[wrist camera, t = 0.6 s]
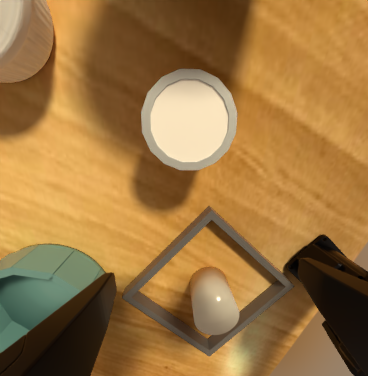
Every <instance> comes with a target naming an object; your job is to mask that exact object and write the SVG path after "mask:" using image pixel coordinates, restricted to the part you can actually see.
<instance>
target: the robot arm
mask: <svg viewBox="0 0 368 376" xmlns="http://www.w3.org/2000/svg"><path fill="white" fill-rule="evenodd" d="M286 268H287V269H288V270H289V271H290V272H291V273H292V274H293V275H294V276H295V277H296V278H298V279H299V280H300V281H301V282H302V284H303V285H304V287H305V288H306V290H307V292H308V293H309V295H310V297H311V298H312V300H313V302H314V303H315V305H316V307H317V308H318V310H319V311H320V313H321V314H322V315H323V317H324V318H325V320H326V321H324V322H323V323H322V326H323V327H324V329H325V330H326V332H327V334H328V336H329V338H330V339H331V341H332V342H333V344H334V345H335V347H336V349H337V351H338V352H339V354H340V355H341V357H342V359H343V360H344V362H345V364H346V365H347V367H348V369H349V370H350V372H351V373H352V374H353V375H354V376H368V271H366V270H364V269H363V268H362V267H360V266H359V265H357V264H355V263H354V262H353V261H351V260H349V259H348V258H347V257H346V256H345V255H344V254H343V253H342V252H341V251H340V250H339V249H338V247H337V246H336V245H335V244H334V243H333V242H332V241H331V240H330V239H329V238H328V237H327V236H326V235H321V236H319V237H318V238H317V239H316V240H315V241H313V242H312V243H311V244H310V245H309V246H308V247H306V248H305V249H304V250H303V251H302V252H300V253H299V254H298V255H297V256H296V257H295V258H293V259H292V260H291V261H290V262H289V263H288V264H287V265H286ZM115 295H116V282H115V276H114V273H104V274H103V275H101V276H100V277H99V278H97V279H96V280H95V281H94V282H92V283H91V284H90V285H88V286H87V287H86V288H84V289H83V290H82V291H81V292H79V293H78V294H77V295H75V296H74V297H73V298H71V299H70V300H69V301H68V302H66V303H65V304H64V305H62V306H61V307H60V308H59V309H57V310H56V311H55V312H53V313H52V314H51V315H49V316H48V317H47V318H46V319H44V320H43V321H42V322H40V323H39V324H38V325H36V326H35V327H34V328H33V329H31V330H30V331H29V332H27V334H25V335H23V336H22V337H21V338H20V339H18V340H17V341H16V342H14V343H13V344H12V345H10V346H9V347H8V348H6V349H5V350H4V351H2V352H1V353H0V376H90V375H91V372H92V369H93V367H94V364H95V361H96V358H97V355H98V353H99V350H100V347H101V344H102V341H103V338H104V336H105V333H106V330H107V326H108V323H109V319H110V315H111V311H112V307H113V303H114V299H115Z"/></svg>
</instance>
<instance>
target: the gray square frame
mask: <svg viewBox="0 0 368 376" xmlns="http://www.w3.org/2000/svg"><path fill="white" fill-rule="evenodd" d="M211 220H213V221H214V222H215V223H216V224H217V225H218V226H219V227H220V228H221V229H222V230H224V231H225V232H226V233H227V234H228V235H229V236H230V237H231V238H232V239H234V240H235V241H236V242H237V243H238V244H239V245H240V246H241V247H242V248H244V249H245V250H246V251H247V252H248V253H249V254H250V255H251V256H252V257H253V258H255V259H256V260H257V261H258V262H259V263H260V264H261V265H262V266H263V267H265V268H266V269H267V270H268V271H269V272H270V273H271V274H272V275H273V276H275V277H276V278H277V279H278V280H277V281H276V282H275V283H274V284H272V285H271V286H270V287H269V288H268V289H266V290H265V291H264V292H263V293H262V294H261V295H259V296H258V297H257V298H256V299H255V300H253V301H252V302H251V303H250V304H249V305H247V306H246V307H245V308H244V309H243V310H242V311H240V312H239V320H238V322H237V324H236V325H235V326H234V327H233V328H232V329H231V330H230V331H228V332H226V333H223V334H220V335H212V336H211V337H210V338H208V339H206V338H205V337H203V336H202V335H201V334H199V333H198V332H196V331H195V330H193V329H192V328H191V327H189V326H188V325H186V324H185V323H183V322H182V321H180V320H179V319H178V318H176V317H175V316H173V315H172V314H170V313H169V312H168V311H166V310H165V309H163V308H162V307H160V306H159V305H157V304H156V303H155V302H153V301H152V300H150V299H149V298H147V297H146V296H145V295H143V294H142V293H140V292H139V291H138V290H139V289H140V288H141V287H142V286H144V285H145V284H146V283H147V282H148V281H149V280H150V279H151V278H152V277H153V276H154V275H155V274H156V273H157V272H158V271H159V270H160V269H161V268H162V267H163V266H164V265H165V264H166V263H167V262H168V261H169V260H170V259H171V258H172V257H174V256H175V255H176V254H177V253H178V252H179V251H180V250H181V249H182V248H183V247H184V246H185V245H186V244H187V243H188V242H189V241H190V240H191V239H192V238H193V237H194V236H195V235H196V234H197V233H198V232H199V231H200V230H201V229H202V228H204V227H205V226H206V225H207V224H208V223H209V222H210V221H211ZM293 287H294V285H293V284H292V283H291V282H290V280H289V279H288V278H287V277H286V276H285V275H284V274H283V273H281V272H280V271H279V270H278V269H277V268H276V267H275V266H274V265H273V264H272V263H271V262H270V261H268V260H267V259H266V258H265V257H264V256H263V255H262V254H261V253H260V252H259V251H258V250H257V249H255V248H254V247H253V246H252V245H251V244H250V243H249V242H248V241H247V240H246V239H245V238H244V237H242V236H241V235H240V234H239V233H238V232H237V231H236V230H235V229H234V228H233V227H232V226H231V225H229V224H228V223H227V222H226V221H225V220H224V219H223V218H222V217H221V216H220V215H219V214H218V213H216V212H215V211H214V210H213V209H212V208H211V207H210V206H208V207H207V208H206V209H205V210H204V211H203V212H202V213H201V214H200V215H199V216H198V217H197V218H196V219H195V220H194V221H193V222H192V223H191V224H190V225H189V226H188V227H187V228H186V229H185V230H184V231H183V232H182V233H181V234H180V235H179V236H178V237H177V238H176V239H175V240H174V241H173V242H172V243H171V244H170V245H169V246H168V247H167V248H166V249H165V250H164V251H163V252H162V253H161V254H160V255H159V256H158V257H157V258H156V259H155V260H153V261H152V262H151V263H150V264H149V265H148V266H147V267H146V268H145V269H144V270H143V271H142V272H141V273H140V274H139V275H138V276H137V277H136V278H135V279H134V280H133V281H132V282H131V283H130V284H129V285H128V286H127V287H126V288H125V290H124V293H123V296H122V298H123V299H124V300H126V301H127V302H129V303H130V304H132V305H133V306H135V307H136V308H138V309H139V310H141V311H142V312H144V313H145V314H147V315H148V316H150V317H151V318H153V319H154V320H156V321H157V322H159V323H160V324H161V325H163V326H164V327H166V328H167V329H169V330H170V331H172V332H173V333H175V334H176V335H178V336H179V337H181V338H182V339H184V340H185V341H187V342H188V343H190V344H191V345H193V346H194V347H196V348H197V349H199V350H200V351H202V352H203V353H205V354H206V355H208V356H211V355H212V354H213V353H214V352H215V351H217V350H218V349H219V348H220V347H221V346H223V345H224V344H225V343H226V342H228V341H229V340H230V339H231V338H232V337H234V336H235V335H236V334H237V333H238V332H240V331H241V330H242V329H243V328H245V327H246V326H247V325H248V324H249V323H251V322H252V321H253V320H254V319H255V318H257V317H258V316H259V315H260V314H262V313H263V312H264V311H265V310H266V309H268V308H269V307H270V306H271V305H272V304H274V303H275V302H276V301H277V300H279V299H280V298H281V297H282V296H283V295H285V294H286V293H287V292H288V291H289V290H291V289H292V288H293Z"/></svg>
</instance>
